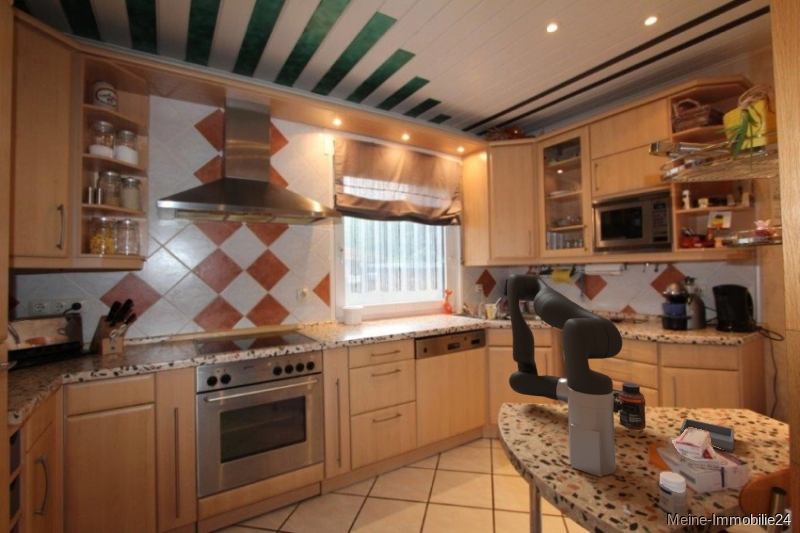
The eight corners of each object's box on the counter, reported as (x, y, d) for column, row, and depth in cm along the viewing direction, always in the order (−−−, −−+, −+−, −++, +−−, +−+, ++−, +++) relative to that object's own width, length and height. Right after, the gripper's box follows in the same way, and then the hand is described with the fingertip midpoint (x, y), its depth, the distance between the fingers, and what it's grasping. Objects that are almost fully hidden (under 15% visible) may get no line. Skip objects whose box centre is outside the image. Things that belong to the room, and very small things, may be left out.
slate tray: (733, 452, 85) (733, 442, 85) (680, 439, 92) (680, 430, 92) (734, 438, 92) (733, 428, 92) (685, 427, 99) (684, 418, 99)
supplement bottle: (637, 422, 99) (636, 381, 99) (650, 431, 93) (649, 388, 93) (615, 421, 99) (614, 381, 100) (626, 430, 94) (625, 387, 94)
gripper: (567, 385, 101) (636, 399, 90) (583, 374, 112) (647, 386, 100) (567, 411, 101) (637, 428, 89) (584, 398, 111) (648, 412, 100)
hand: (642, 406), depth 95 cm, fingers closed on supplement bottle, 6 cm apart
